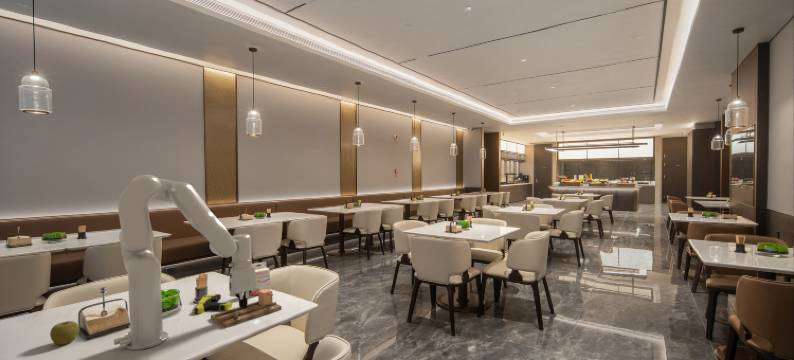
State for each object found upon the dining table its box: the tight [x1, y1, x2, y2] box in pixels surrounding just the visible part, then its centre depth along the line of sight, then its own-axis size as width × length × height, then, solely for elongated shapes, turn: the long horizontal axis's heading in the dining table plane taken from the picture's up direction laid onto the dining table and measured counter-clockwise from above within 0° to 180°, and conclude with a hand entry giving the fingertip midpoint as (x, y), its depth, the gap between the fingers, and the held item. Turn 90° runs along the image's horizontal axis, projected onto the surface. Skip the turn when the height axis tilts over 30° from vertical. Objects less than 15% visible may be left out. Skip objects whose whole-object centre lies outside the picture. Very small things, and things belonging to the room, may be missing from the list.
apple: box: [49, 320, 80, 346], centre depth 131 cm, size 8×8×7 cm
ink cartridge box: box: [250, 261, 271, 297], centre depth 180 cm, size 9×5×15 cm, turn 130°
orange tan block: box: [257, 289, 274, 306], centre depth 158 cm, size 4×9×6 cm, turn 47°
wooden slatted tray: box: [210, 300, 282, 329], centre depth 153 cm, size 24×14×4 cm, turn 137°
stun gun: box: [194, 293, 233, 315], centre depth 165 cm, size 3×19×15 cm
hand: (243, 307), depth 152 cm, fingers closed
